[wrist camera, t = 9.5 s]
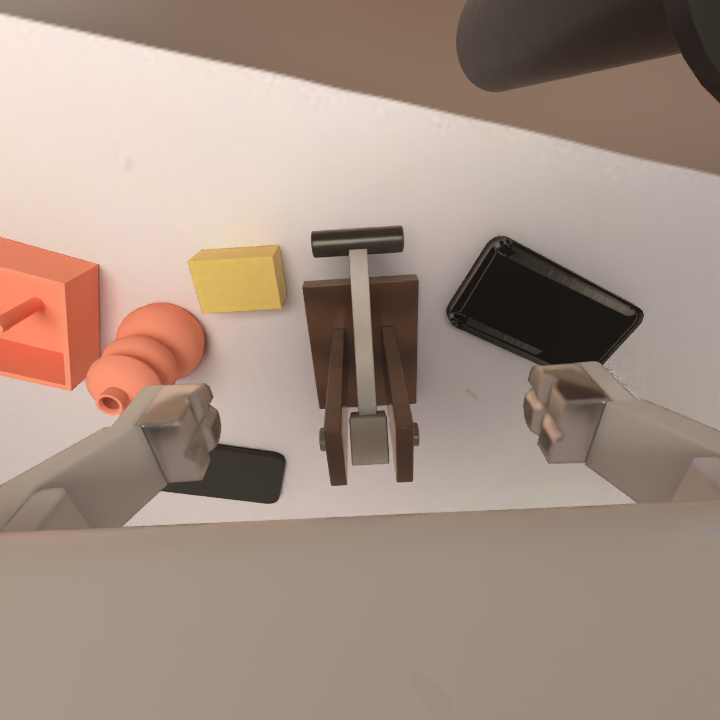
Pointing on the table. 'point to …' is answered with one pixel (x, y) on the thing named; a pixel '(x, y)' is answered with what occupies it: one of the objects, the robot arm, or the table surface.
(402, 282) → the brown wooden frame
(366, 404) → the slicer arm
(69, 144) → the table surface
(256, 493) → the phone
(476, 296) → the phone
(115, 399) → the pottery
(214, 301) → the butter block
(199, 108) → the table surface
